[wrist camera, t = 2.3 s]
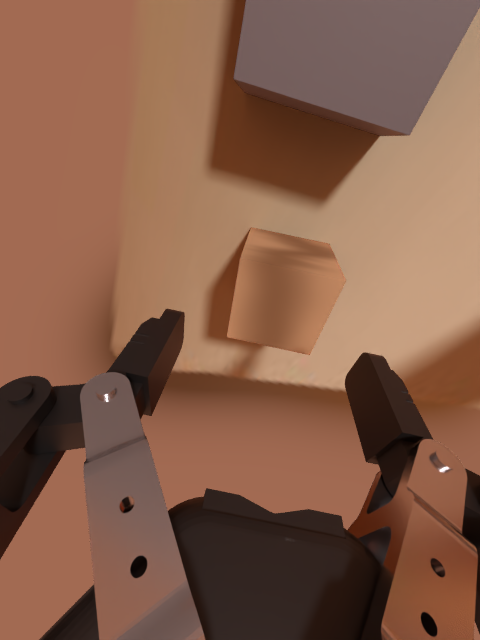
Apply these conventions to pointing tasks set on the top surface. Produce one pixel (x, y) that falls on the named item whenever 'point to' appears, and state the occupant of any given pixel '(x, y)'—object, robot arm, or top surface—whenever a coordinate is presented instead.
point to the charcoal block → (351, 56)
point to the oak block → (284, 291)
